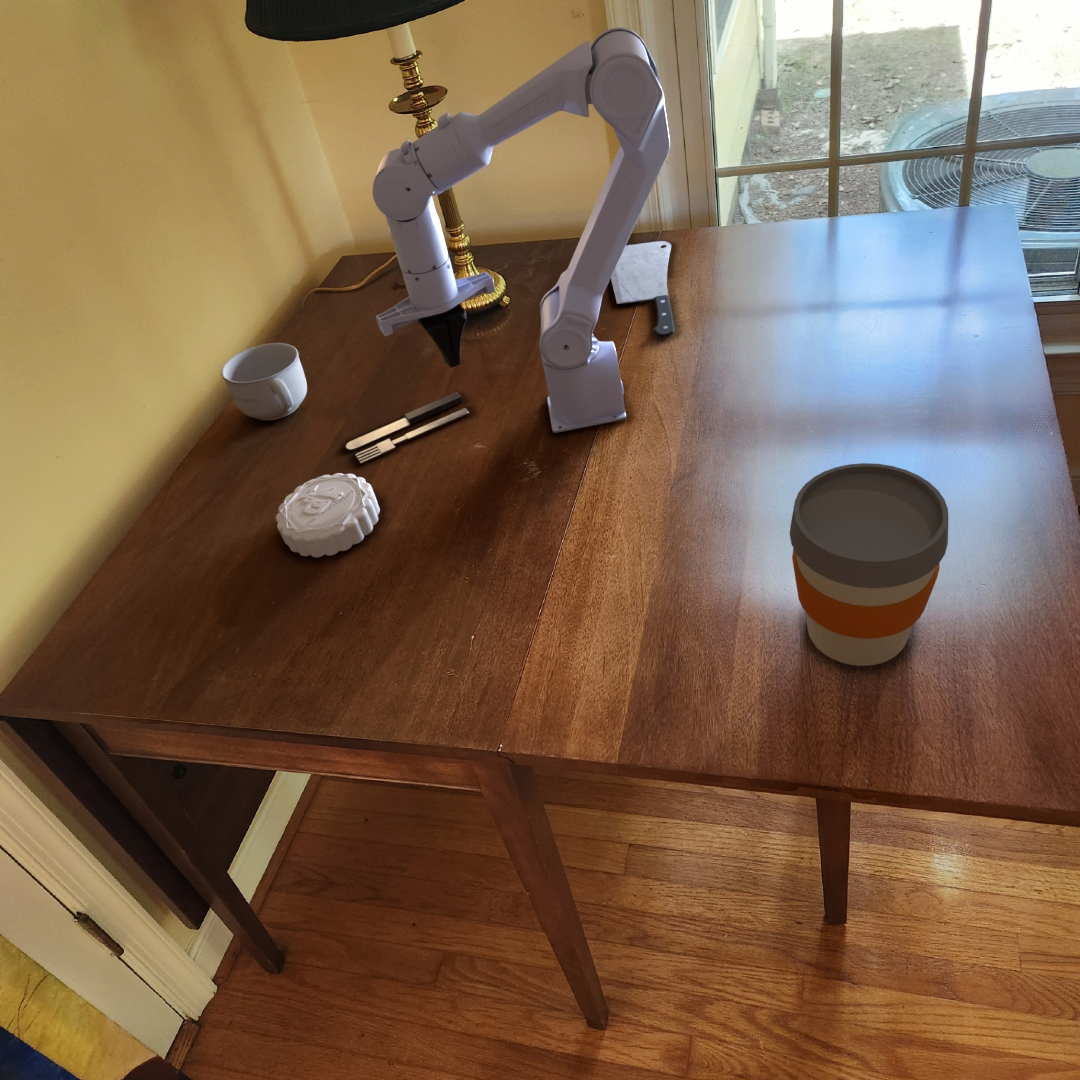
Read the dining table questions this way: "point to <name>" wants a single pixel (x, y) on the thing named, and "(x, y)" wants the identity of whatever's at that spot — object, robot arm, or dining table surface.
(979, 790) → the dining table surface
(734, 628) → the dining table surface
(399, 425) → the knife
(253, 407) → the teacup
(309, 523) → the mooncake
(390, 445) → the fork
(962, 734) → the dining table surface
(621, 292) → the cleaver
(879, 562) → the reusable coffee cup
